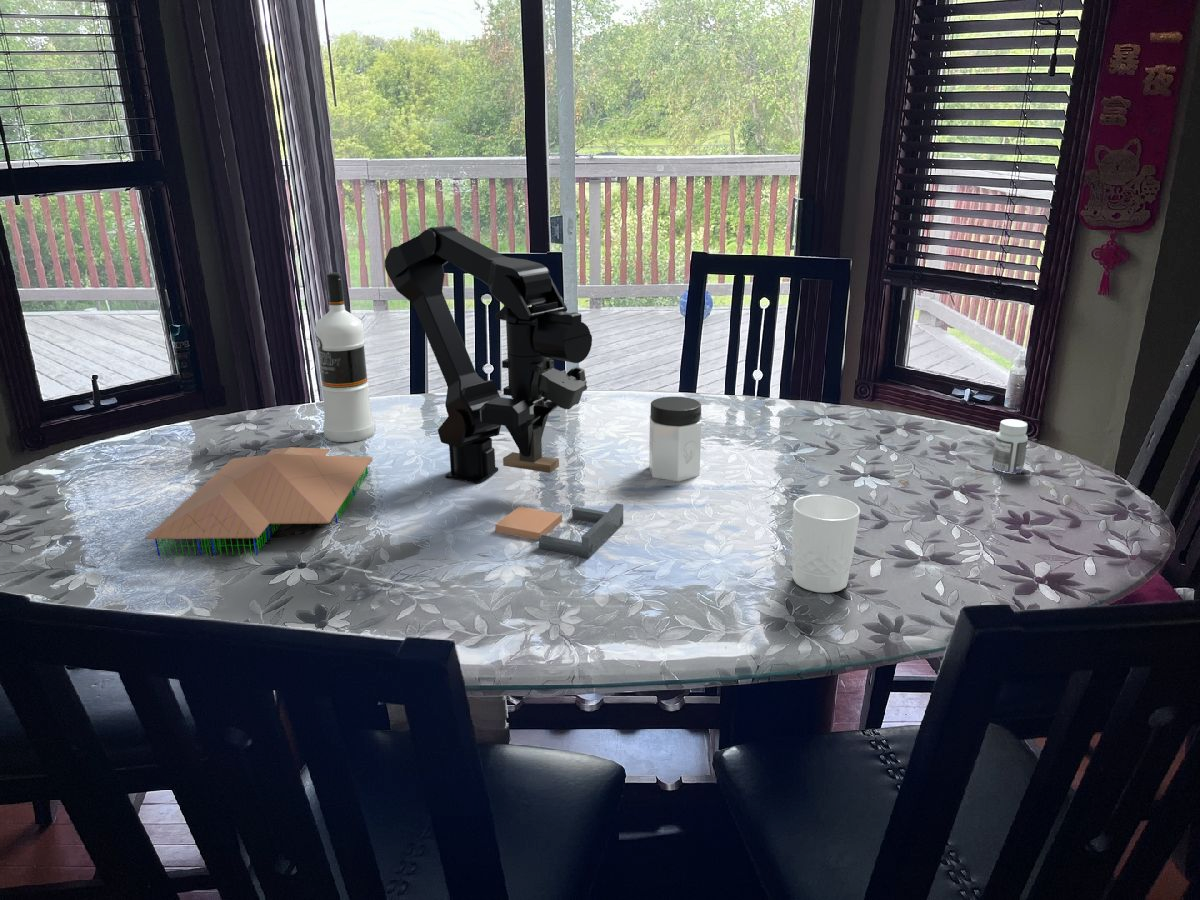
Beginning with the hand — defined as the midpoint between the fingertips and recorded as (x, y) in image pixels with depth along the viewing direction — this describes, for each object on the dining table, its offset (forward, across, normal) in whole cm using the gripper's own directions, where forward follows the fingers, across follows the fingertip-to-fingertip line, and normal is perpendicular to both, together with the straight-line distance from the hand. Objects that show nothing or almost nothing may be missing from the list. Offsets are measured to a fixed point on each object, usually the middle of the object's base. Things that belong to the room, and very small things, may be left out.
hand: (530, 453), depth 135 cm
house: (+8, -19, +33) cm, 39 cm away
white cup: (+7, -10, -46) cm, 47 cm away
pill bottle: (+7, +40, -67) cm, 78 cm away
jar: (+7, +18, -17) cm, 26 cm away
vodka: (+7, +12, +44) cm, 46 cm away
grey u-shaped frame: (+7, -10, -13) cm, 18 cm away
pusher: (+2, 0, 0) cm, 2 cm away
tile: (+8, -10, -5) cm, 13 cm away
